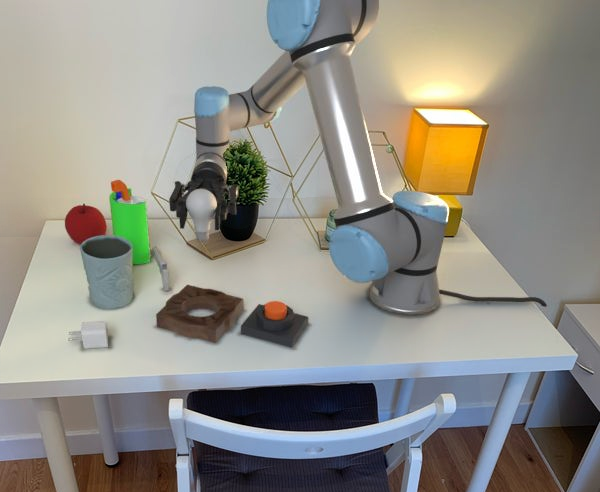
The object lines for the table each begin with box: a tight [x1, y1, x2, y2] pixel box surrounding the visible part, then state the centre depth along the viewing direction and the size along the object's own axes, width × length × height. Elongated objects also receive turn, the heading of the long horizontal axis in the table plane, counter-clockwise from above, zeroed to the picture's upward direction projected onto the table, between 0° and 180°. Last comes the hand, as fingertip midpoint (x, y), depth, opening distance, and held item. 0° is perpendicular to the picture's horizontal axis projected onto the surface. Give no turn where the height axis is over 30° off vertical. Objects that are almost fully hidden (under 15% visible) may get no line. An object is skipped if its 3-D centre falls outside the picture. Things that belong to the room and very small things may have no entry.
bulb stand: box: [155, 284, 245, 344], centre depth 133 cm, size 14×14×3 cm
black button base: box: [240, 303, 309, 348], centre depth 132 cm, size 11×9×4 cm
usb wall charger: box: [67, 320, 109, 350], centre depth 124 cm, size 4×7×4 cm, turn 102°
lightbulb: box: [186, 189, 217, 243], centre depth 133 cm, size 6×6×11 cm
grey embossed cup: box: [79, 234, 134, 310], centre depth 134 cm, size 10×10×12 cm
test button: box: [264, 300, 288, 320], centre depth 130 cm, size 4×4×2 cm
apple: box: [64, 203, 108, 245], centre depth 153 cm, size 9×9×10 cm
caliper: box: [151, 245, 170, 292], centre depth 147 cm, size 21×1×6 cm, turn 17°
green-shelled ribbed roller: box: [108, 179, 152, 265], centre depth 147 cm, size 9×8×18 cm
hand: (199, 222), depth 128 cm, fingers closed on lightbulb, 6 cm apart
